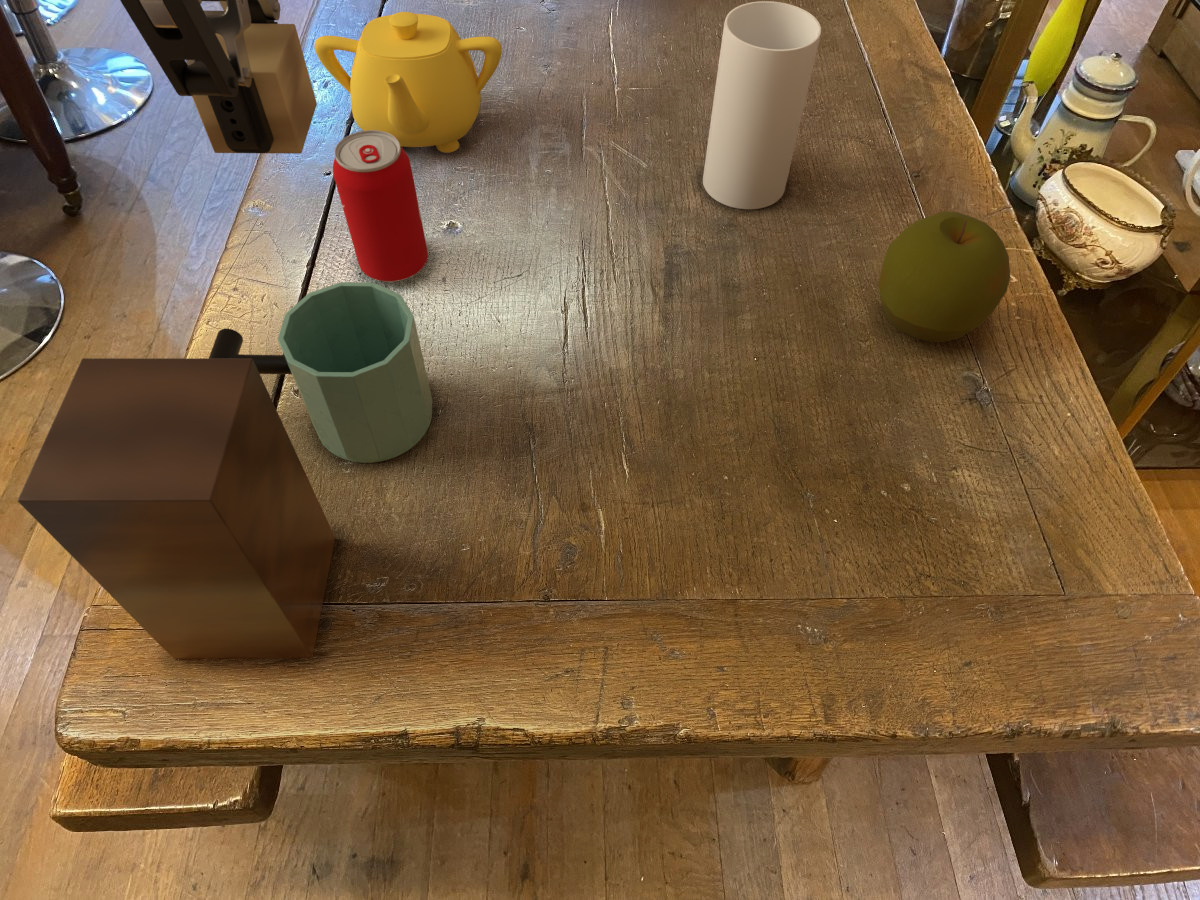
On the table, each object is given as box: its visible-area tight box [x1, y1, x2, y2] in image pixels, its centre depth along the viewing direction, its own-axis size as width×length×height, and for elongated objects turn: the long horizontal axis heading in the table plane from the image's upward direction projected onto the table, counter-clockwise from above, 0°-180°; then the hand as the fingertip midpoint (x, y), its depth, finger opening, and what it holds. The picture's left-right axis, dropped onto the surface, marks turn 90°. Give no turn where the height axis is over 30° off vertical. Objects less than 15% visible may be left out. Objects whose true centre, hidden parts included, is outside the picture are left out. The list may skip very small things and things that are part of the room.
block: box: [191, 23, 318, 155], centre depth 44 cm, size 4×4×4 cm
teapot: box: [313, 11, 503, 153], centre depth 85 cm, size 14×14×12 cm
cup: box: [702, 0, 822, 210], centre depth 79 cm, size 8×8×16 cm
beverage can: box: [332, 130, 429, 283], centre depth 73 cm, size 6×6×12 cm
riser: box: [17, 357, 336, 660], centre depth 50 cm, size 9×9×19 cm
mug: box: [208, 281, 434, 464], centre depth 63 cm, size 15×9×10 cm, turn 90°
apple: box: [877, 210, 1011, 343], centre depth 70 cm, size 10×10×11 cm
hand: (263, 118), depth 45 cm, fingers closed on block, 4 cm apart
